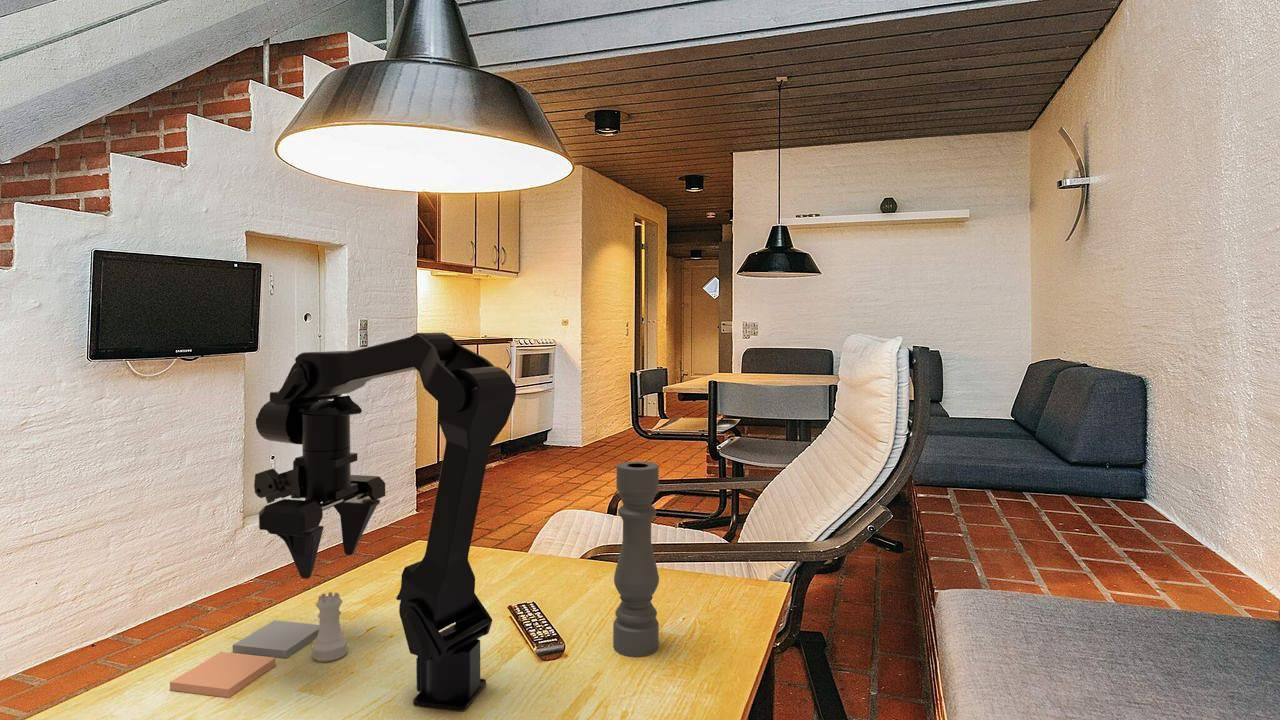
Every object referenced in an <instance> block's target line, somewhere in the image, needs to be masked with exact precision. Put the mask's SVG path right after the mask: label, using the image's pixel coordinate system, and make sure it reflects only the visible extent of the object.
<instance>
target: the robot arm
mask: <svg viewBox="0 0 1280 720" xmlns="http://www.w3.org/2000/svg"><path fill="white" fill-rule="evenodd" d="M294 361H295V363H294V364H292V366H291V369H290V371H289V373H288V374H287V376H286V378H285V380H284V383H283V385H282V386H281V388H280V389H279V390H278V391H272V392H269V401H267V402H266V403H265V404H263V406H262V407H260V410H259V412H258V414H257V417H256V418H255V427H256V429H257V432H258V434H259V436H261V437H262V438H263V439H265V440H267V441H270V442H279V443H285V444H291V445H292V444H294V445H300V446H301V445H302V448H301V449H302V455H300V456H298V457H294V460H293V462H292V467H293V468H292V469H291V470H287V471H284V472H281V473H278V471H277V470H276V469H274V468H270V469H267V470H263V471H259V472H258V473H255V474H254V483H253V487H254V493H255V495H256V496H257V497H258V498H260V499H263V498H264V499H265V500H266V502H267V505H265V506H264V507H263V508H261V510H260V511H259V512H258V529H259V530H260V531H267V533H268V534H270V535H276V536H278V538H280V539H282V541H284V543H285V545H286V547H287V548H288V551H289V553H290V555H291V557H292V560H293V562H294V564H295V566H296V569H297V572H298V573H299V577H300V578H301V579H307V580H308V579H310V578H311V577H312V573H313V571H314V567H315V563H316V560H317V557H318V556H317V554H318V551H319V547H320V543H321V540H322V535H323V531H324V525H320V524H321V521H322V520H323V516H324V515H323V514H324V513H323V511H325V510H328V509H330V508H334V509H335V510H336V511H337V513H338V515H339V516H340V526H341V527H340V528H341V537H342V538H341V539H342V545H343V546H342V548H343V551H344V555H346V556H352V555H354V553H355V551H356V550H357V549H356V548H357V546H358V545H359V543H360V540H361V539H362V536H363V534H364V533H365V529H366V528H367V526H368V524H369V522H370V520H371V518H372V517H373V514H374V512H375V510H376V508H377V506H379V505H380V503H381V500H380V499H381V498H384V497H385V496H386V482H385V481H384V480H383V478H381V477H380V476H378V475H377V476H376V475H362V474H361V475H358V474H351V471H352V470H351V466H352V465H351V463H355V462H357V461H358V452H351V416H352V415H353V416H354V415H358V414H359V415H360V414H361V413H362V412H363V410H362V407H360V405H359V404H357V403H356V402H355V401H354V400H352V397H351V395H347V394H350V393H352V392H354V391H357V390H358V389H360V388H362V387H364V386H365V385H366V384H367V382H369V381H371V380H373V379H378V378H383V377H387V376H392V375H397V374H400V373H402V374H403V373H406V372H410V371H416V370H417V372H418V373H419V377H420V379H421V382H422V386H423V388H424V390H425V391H427V393H428V394H429V395H430V396H432V397H433V398H434V399H435V400H436V402H437V421H438V423H439V426H440V429H441V430H442V433H443V436H444V439H445V446H444V452H443V457H442V463H441V468H440V474H439V477H438V482H437V483H438V485H437V491H436V494H435V501H434V505H433V511H432V517H431V522H430V527H429V532H428V537H427V543H426V549H425V553H424V556H423V558H422V559H421V560H420V561H416V562H414V563H412V564H410V565H407V566H405V567H404V569H403V570H402V573H401V578H400V579H401V581H400V583H401V584H400V588H399V589H400V590H399V592H398V594H397V596H396V600H397V601H400V602H399V604H398V605H399V607H398V612H399V618H400V622H401V625H402V629H403V631H404V635H405V640H406V643H407V646H408V650H409V653H410V654H411V655H415V656H416V663H415V664H416V672H415V673H416V691H417V692H419V693H418V694H416V696H415V697H414V698H413V699H412V701H413V702H412V703H413V705H415V706H422V707H431V708H438V709H439V708H440V709H446V710H448V709H449V710H456V711H464V710H466V709H467V708H468V707H469V705H471V703H472V702H473V701H474V700H475V698H476V697H477V696H478V695H479V693H480V692H481V691H482V690H483V689H484V688H485V686H487V680H486V678H481V639H480V638H482V637H483V636H486V635H488V634H489V633H490V630H491V627H492V624H493V618H492V616H491V615H490V614H489V612H488V611H487V609H486V608H485V606H484V604H482V602H481V601H480V598H479V597H478V596H477V594H476V592H475V590H476V576H475V574H474V571H473V568H472V567H471V566H472V565H470V564H471V563H470V561H469V553H470V548H471V543H472V538H473V534H474V529H475V524H476V519H477V513H478V508H479V503H480V498H481V493H482V489H483V483H484V479H485V473H486V468H487V463H488V458H489V453H490V449H491V446H492V444H493V443H494V442H495V440H496V439H497V437H498V436H499V435H500V433H501V432H502V430H503V429H504V427H506V424H507V423H508V421H509V417H510V415H511V413H512V409H513V407H514V404H515V401H516V398H517V386H516V384H515V382H513V379H512V378H511V376H510V374H509V373H508V372H507V371H506V370H505V369H503V368H501V367H499V366H495V365H494V364H493V363H492V362H491V361H489V360H488V359H487V358H485V357H483V356H482V355H479V354H478V353H476V352H474V351H473V350H470V349H469V348H467V347H466V346H464V345H461V344H460V343H459V342H458V341H457V340H456V339H454V337H453V336H452V335H451V336H450V335H449V334H448V333H445V332H417V333H413V335H410V336H407V337H405V338H401V339H397V340H392V341H388V342H383V343H380V344H376V345H371V346H368V347H363V348H360V349H355V350H335V351H333V350H332V351H310V352H309V351H308V352H301V353H300V354H298V355H297V356H296V357H295V358H294ZM342 395H343V396H342ZM287 497H290V498H291V499H287ZM277 499H281V500H277ZM303 499H304V500H303ZM276 500H277V501H276Z"/></svg>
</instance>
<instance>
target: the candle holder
mask: <svg viewBox="0 0 1280 720" xmlns="http://www.w3.org/2000/svg"><path fill="white" fill-rule="evenodd" d="M659 467H660V466H659V465H658V464H657V463H654V462H650V461H641V460H640V461H625V462H624V461H623V462H620V463H618V464H616V482H615V483H616V487H615V488H616V489H617V491H618V493H617V494H618V496H619V497H620V499H621V503H622V505H621V506H620V507H619V508H618V509H617V514H618V516H619V517H620V518H621V520H622V543H621V546H620V551H619V555H618V560H617V564H616V568H615V571H614V576H613V582H614V586H615V589H616V590H617V593H618V594H619V595H620V596H619V599H620V601H621V602H620V603H619V605H618V606H617V608H616V610H615V613H614V614H615V619H614V620H613V625H612V626H613V627H612V628H613V629H612V633H613V634H612V638H613V639H612V647H613V650H614V652H616V653H618V654H620V655H622V656H625V657H633V658H641V657H647V656H650V655H653V654H654V653H656V652H657V651H658V650H659V639H660V638H659V635H660V634H659V626H660V625H659V624H660V623H659V622H658V621H659V620H658V619H657V618H656V617H657V615H658V611H657V609H656V608H655V607H654V605H653V603H652V600H653V598H654V597H653V595H654V594H655V592H656V590H657V588H658V586H659V583H660V575H659V571H658V567H657V561H656V557H655V553H654V549H653V544H652V521H653V518H655V516H656V515H657V509H656V508H655V507H654V506H653V505H652V504H653V502H654V499H655V497H656V495H657V491H658V490H659V487H660V486H659V473H660V471H659V470H660V469H659Z"/></svg>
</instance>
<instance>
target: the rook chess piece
mask: <svg viewBox="0 0 1280 720" xmlns="http://www.w3.org/2000/svg"><path fill="white" fill-rule="evenodd" d="M340 595H341V594H339V592H334V594H333V592H328V596H326V593H322V594H321V595H319V596H318V600H317V601H316V603H315V607H316V608H317V609H318V610H319V613H318V614H317V618H318V619H319V622H318V623H319V624H318V625H319V631H318V636H317V637H316V638H315V639H314V640H315V641H314V642H313V643H312V647H311V649H312V650H313V651H312V652H311V657H312V658H313V659H314V661H315V662H316V661H317V662H319V663H330V662H334V661H337V660H340V659H342V658H343V657H344V656H345V655H346V654H347V653H348V650H349V647H348V640H347V637H345V634H344V633H343V631H342V628H341V621H340V615H341V614H342V612H341V611H340V607H341V605H342V604H343V600H342V599H341V596H340Z"/></svg>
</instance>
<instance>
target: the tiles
mask: <svg viewBox="0 0 1280 720" xmlns="http://www.w3.org/2000/svg"><path fill="white" fill-rule="evenodd" d="M318 631H319V624H317V623H314V624H313V623H305V622H295V621H284V620H276V619H275V620H272V621H270V622H268V623H267V624H265V625H264V626H262V627H260V628H258V629H257V630H255V631H253V632H252V633H250V634H248V635H247V636H245V637H243V638H242V639H239V640H238V641H237V642H235V643H233V644H232V652H226V651H220V652H218V653H217V654H215V655H213V656H211V657H210V658H208V659H206V660H205V661H203V662H201V663H200V664H198V665H196V666H195V667H193V668H191V669H189V670H188V671H186V672H184V673H183V674H181V675H179V676H178V677H176V678H174V679H172V680H170V681H169V690H170V691H173V692H180V691H181V692H180V693H187V694H189V693H190V694H196V695H204V696H206V695H207V696H213V697H220V698H230V697H231V696H233V695H235V694H236V693H238V692H239V691H241V690H242V689H243V688H245V687H246V686H248V685H249V684H251V683H252V682H253V681H255V680H256V679H258V678H260V677H261V676H263V675H264V674H266V672H268V671H270V670H271V669H272V668H274V667H276V666H277V665H276V663H277V661H276V658H280V659H287V658H289V657H290V656H292V655H294V654H295V653H296V652H297V651H300V649H302V648H303V647H305V646H306V645H307V644H309V643H311V642H312V641H314V640H315V639H316V637H317V636H318Z"/></svg>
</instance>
